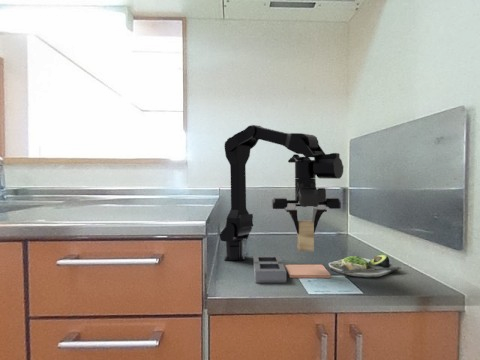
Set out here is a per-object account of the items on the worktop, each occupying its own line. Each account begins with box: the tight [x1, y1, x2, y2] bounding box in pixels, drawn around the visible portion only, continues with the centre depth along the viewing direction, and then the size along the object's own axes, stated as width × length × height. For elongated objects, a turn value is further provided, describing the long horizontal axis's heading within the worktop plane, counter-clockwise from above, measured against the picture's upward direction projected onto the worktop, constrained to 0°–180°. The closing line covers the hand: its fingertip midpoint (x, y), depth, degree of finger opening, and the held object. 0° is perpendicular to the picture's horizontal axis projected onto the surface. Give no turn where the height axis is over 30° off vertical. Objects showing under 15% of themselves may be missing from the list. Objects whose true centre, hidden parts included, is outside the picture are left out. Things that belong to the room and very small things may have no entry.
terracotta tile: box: [284, 264, 332, 279], centre depth 106 cm, size 11×11×1 cm
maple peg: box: [296, 220, 315, 252], centre depth 105 cm, size 4×4×8 cm
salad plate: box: [328, 254, 402, 278], centre depth 107 cm, size 19×18×5 cm
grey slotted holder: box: [252, 255, 287, 284], centre depth 105 cm, size 18×8×3 cm, turn 0°
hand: (305, 233), depth 105 cm, fingers closed on maple peg, 4 cm apart
